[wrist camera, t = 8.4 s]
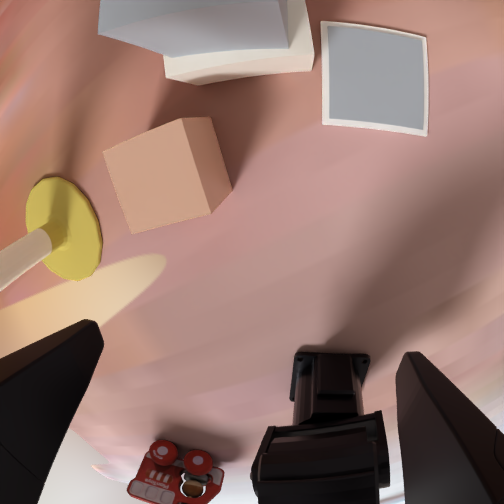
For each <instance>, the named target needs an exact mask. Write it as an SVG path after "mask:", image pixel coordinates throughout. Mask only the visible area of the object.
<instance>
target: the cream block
mask: <svg viewBox="0 0 504 504" xmlns="http://www.w3.org/2000/svg"><path fill="white" fill-rule="evenodd" d="M287 9H288V39H289V49H251V50H234V51H222V52H212V53H203V54H195V55H188V56H181V57H175V58H171V57H168V56H165V55H163V57H164V66H165V74H166V78H169V79H173V80H178V81H182V82H186V83H190V84H193V85H197V86H200V85H205V84H210V83H215V82H220V81H226V80H232V79H239V78H245V77H252V76H260V75H269V74H278V73H289V72H302V71H311V70H312V65H313V60H314V48H313V42H312V35H311V30H310V24H309V18H308V13H307V8H306V3H305V0H287Z"/></svg>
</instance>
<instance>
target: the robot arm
mask: <svg viewBox="0 0 504 504" xmlns="http://www.w3.org/2000/svg"><path fill="white" fill-rule="evenodd" d="M103 348H104V340H103V338H102V335H101V332H100V329H99V327H98V324H97V323H96V322H95V321H92V320H88V319H84V320H81V321H79V322H77V323H75V324H73V325H71V326H69V327H66V328H64V329H62V330H60V331H58V332H56V333H53V334H52V335H49V336H47V337H45V338H43V339H41V340H39V341H37V342H34V343H32V344H30V345H28V346H26V347H24V348H22V349H20V350H18V351H16V352H13V353H11V354H9V355H7V356H5V357H3V358H1V359H0V504H37V503H38V501H39V498H40V495H41V493H42V490H43V487H44V485H45V484H44V483H45V482H46V479H47V476H48V474H49V472H50V469H51V467H52V464H53V462H54V460H55V457H56V454H57V452H58V450H59V448H60V446H61V443H62V441H63V439H64V437H65V434H66V432H67V430H68V428H69V425H70V423H71V421H72V419H73V417H74V415H75V413H76V411H77V408H78V406H79V404H80V402H81V400H82V398H83V396H84V394H85V392H86V390H87V388H88V386H89V383H90V381H91V378H92V376H93V373H94V370H95V368H96V365H97V363H98V360H99V358H100V355H101V353H102V350H103ZM300 357H301V358H300ZM363 360H364V361H363ZM369 364H370V356H369V355H367V354H331V353H309V352H298V353H296V354H295V356H294V364H293V373H292V381H291V389H290V398H289V399H290V400H291V401H293V402H294V414H293V424H292V425H291V426H280V427H276V426H268V428H267V431H266V433H265V435H264V437H263V440H262V442H261V445H260V447H259V450H258V452H257V455H256V457H255V460H254V462H253V465H252V467H251V473H250V479H251V480H252V483H253V489H254V492H255V494H256V496H257V497H258V504H380V503H379V489H380V488H386V487H390V464H389V453H388V445H387V439H386V433H385V427H384V421H383V416H382V411H381V410H380V411H375V413H371V414H366V415H364V409H363V400H362V392H361V387H362V384H363V382H364V379H365V376H366V373H367V370H368V367H369ZM396 396H397V421H398V434H399V441H400V449H401V458H402V468H403V479H404V492H405V504H504V434H503V433H502V432H501V431H500V430H499V429H497V427H496V426H495V425H494V424H493V423H492V422H491V421H490V420H489V419H488V418H487V417H486V416H485V415H484V414H483V413H482V412H481V411H480V410H479V409H478V408H477V407H476V406H475V405H474V404H473V403H472V402H471V401H470V400H469V399H468V398H467V397H466V396H465V395H464V394H463V393H462V392H461V391H460V390H459V389H458V388H457V387H456V386H455V385H454V384H453V383H452V382H451V381H450V380H449V379H448V378H447V377H446V376H445V375H444V374H443V373H442V372H441V371H440V370H439V369H438V368H436V367H435V366H434V365H433V364H432V363H431V362H430V361H429V360H428V359H427V358H426V357H425V356H424V355H423V354H422V353H420V352H418V351H414V352H406V353H405V354H404V356H403V358H402V361H401V363H400V365H399V368H398V370H397V373H396Z"/></svg>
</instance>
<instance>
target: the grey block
mask: <svg viewBox="0 0 504 504" xmlns="http://www.w3.org/2000/svg"><path fill="white" fill-rule="evenodd" d="M98 34H99V35H103V36H107V37H110V38H114V39H117V40H120V41H124V42H127V43H130V44H133V45H137V46H140V47H143V48H146V49H149V50H151V51H154V52H157V53H160V54H163V55H165V56H168V57H171V58H175V57H181V56H188V55H195V54H203V53H212V52H222V51H234V50H251V49H289V39H288V9H287V0H101V1H100V11H99V22H98Z"/></svg>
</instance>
